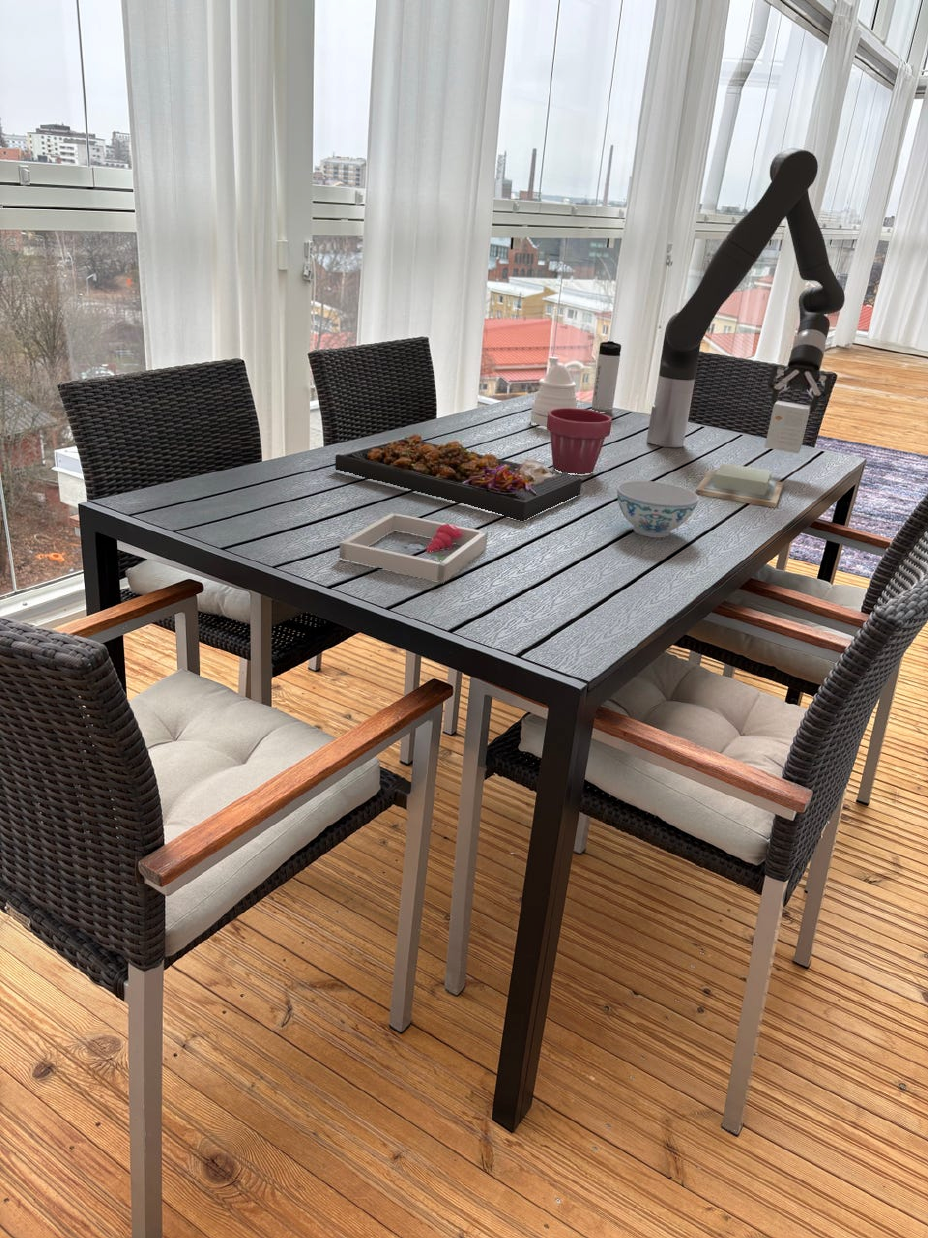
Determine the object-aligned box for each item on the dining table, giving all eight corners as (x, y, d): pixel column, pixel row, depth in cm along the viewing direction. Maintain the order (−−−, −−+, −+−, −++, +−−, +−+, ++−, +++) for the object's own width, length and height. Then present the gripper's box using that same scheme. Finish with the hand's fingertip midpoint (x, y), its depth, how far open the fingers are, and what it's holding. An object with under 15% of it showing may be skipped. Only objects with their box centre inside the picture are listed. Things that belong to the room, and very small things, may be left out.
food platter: (579, 498, 198) (585, 450, 193) (522, 525, 178) (528, 471, 174) (403, 456, 218) (405, 411, 214) (335, 475, 199) (336, 426, 195)
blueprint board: (695, 493, 206) (696, 488, 206) (708, 473, 224) (709, 468, 223) (775, 507, 201) (776, 502, 201) (783, 486, 218) (784, 481, 218)
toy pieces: (410, 538, 166) (411, 514, 164) (470, 550, 162) (472, 525, 161) (382, 558, 155) (383, 533, 153) (446, 571, 152) (448, 546, 150)
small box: (801, 449, 227) (812, 405, 223) (798, 454, 223) (809, 409, 218) (767, 443, 230) (777, 399, 226) (763, 447, 225) (774, 403, 221)
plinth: (712, 487, 209) (715, 474, 207) (720, 475, 219) (722, 462, 218) (763, 496, 205) (766, 482, 204) (769, 483, 215) (771, 470, 214)
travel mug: (611, 410, 286) (621, 341, 278) (612, 414, 280) (622, 344, 272) (590, 408, 287) (599, 339, 279) (591, 412, 281) (600, 342, 273)
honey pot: (527, 427, 254) (534, 358, 247) (532, 418, 266) (539, 352, 259) (575, 433, 253) (584, 364, 246) (577, 423, 265) (586, 357, 257)
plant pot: (574, 482, 207) (581, 423, 202) (528, 466, 216) (535, 410, 211) (616, 474, 216) (625, 418, 211) (571, 460, 225) (578, 405, 220)
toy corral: (339, 560, 152) (339, 542, 150) (391, 528, 168) (392, 512, 167) (442, 583, 146) (444, 565, 145) (486, 548, 162) (487, 532, 161)
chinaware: (674, 551, 170) (682, 509, 166) (598, 531, 176) (604, 491, 173) (702, 531, 181) (709, 492, 178) (629, 514, 188) (635, 476, 185)
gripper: (778, 339, 228) (763, 393, 223) (840, 347, 224) (826, 404, 219) (775, 358, 235) (760, 412, 230) (835, 367, 231) (821, 422, 226)
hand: (792, 408), depth 224 cm, fingers closed on small box, 8 cm apart
